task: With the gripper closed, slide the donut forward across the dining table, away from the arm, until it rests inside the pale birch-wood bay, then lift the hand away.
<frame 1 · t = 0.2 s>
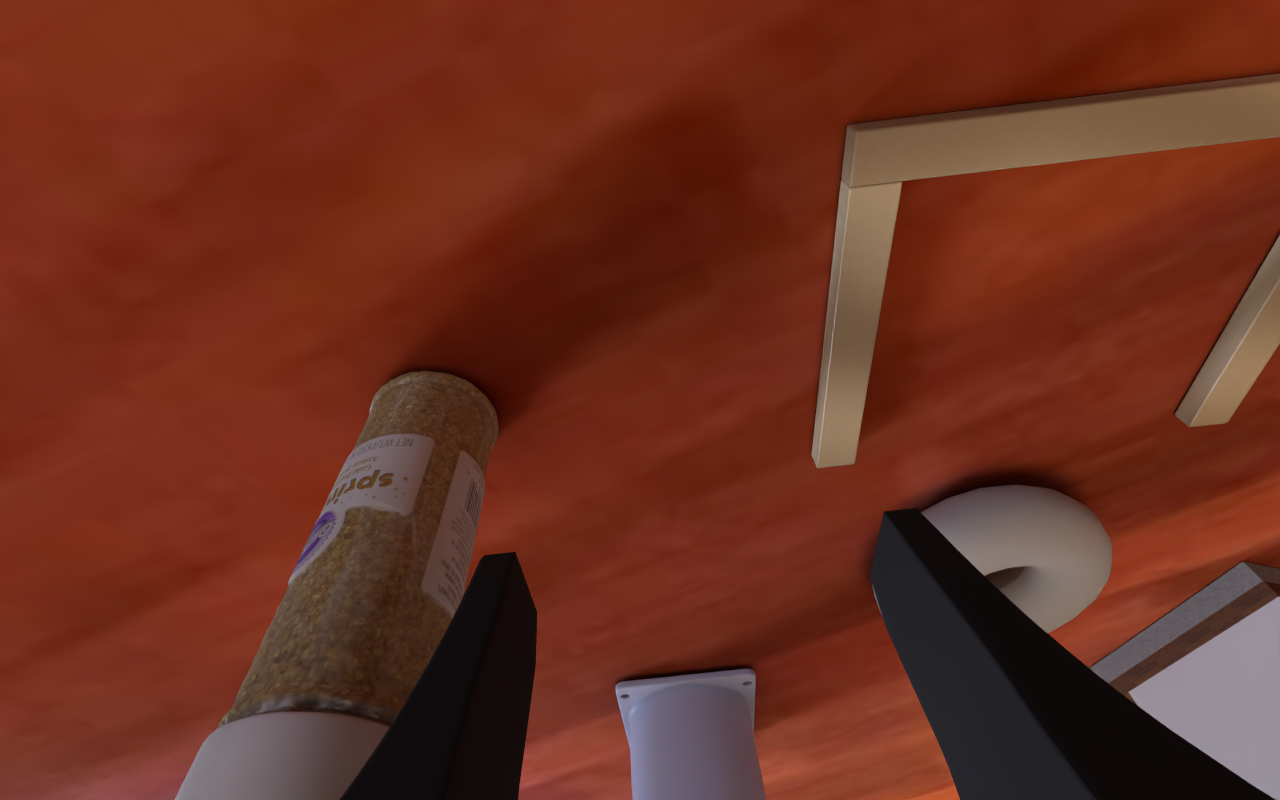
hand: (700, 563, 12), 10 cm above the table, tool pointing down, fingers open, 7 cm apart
grey pedestal stand: (1230, 628, 35), on the table
sprinkles bottle: (439, 413, 22), on the table
donut: (966, 540, 28), on the table
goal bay: (1059, 300, 20), on the table
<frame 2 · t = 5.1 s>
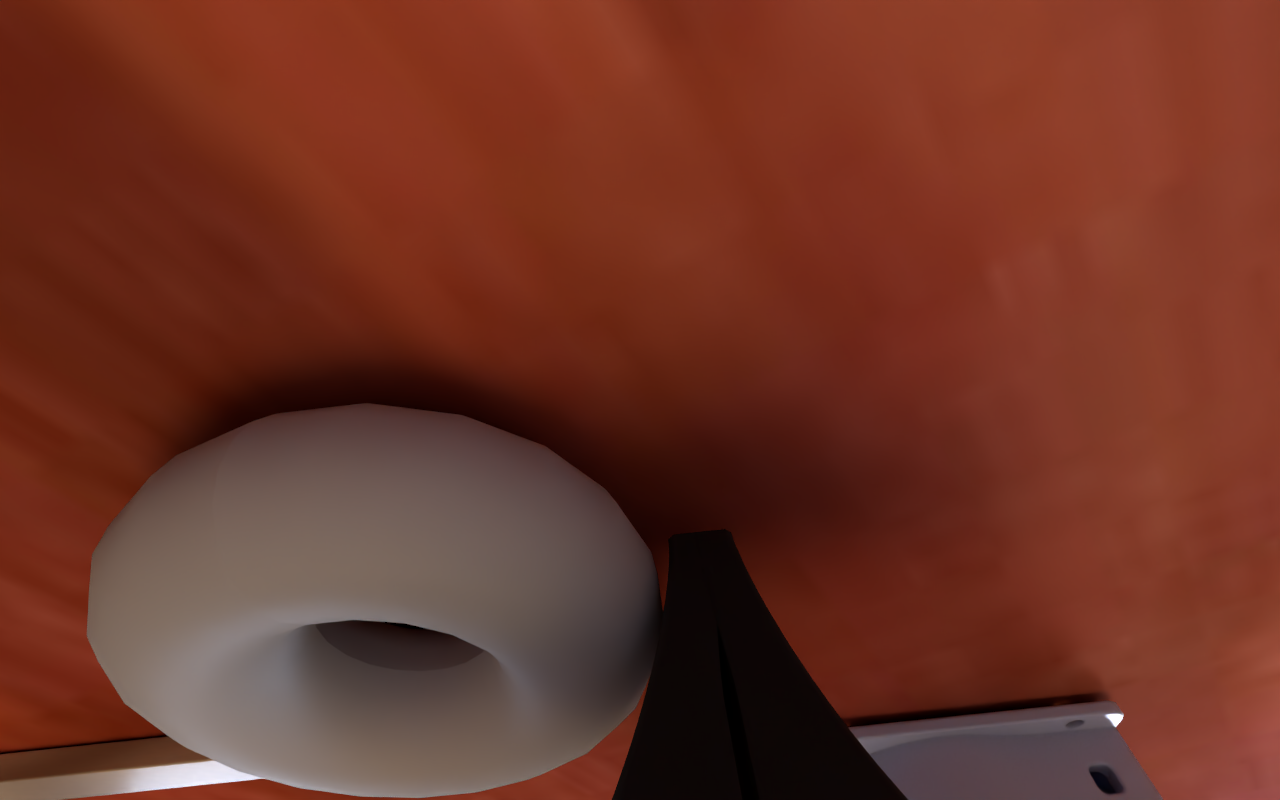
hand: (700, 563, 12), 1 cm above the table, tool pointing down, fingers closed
donut: (428, 548, 13), on the table, touching gripper
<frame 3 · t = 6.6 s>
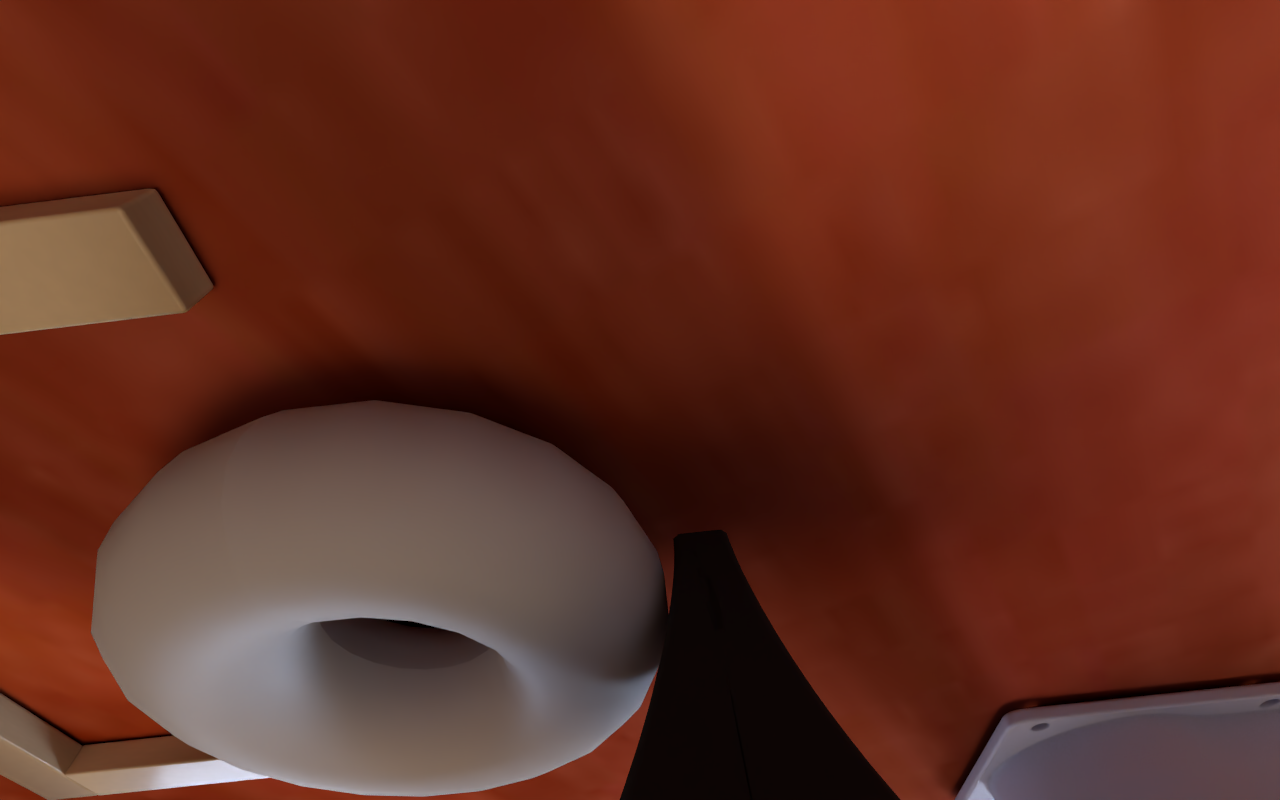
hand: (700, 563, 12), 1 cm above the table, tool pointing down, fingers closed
donut: (432, 546, 13), on the table, touching gripper
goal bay: (106, 590, 13), on the table
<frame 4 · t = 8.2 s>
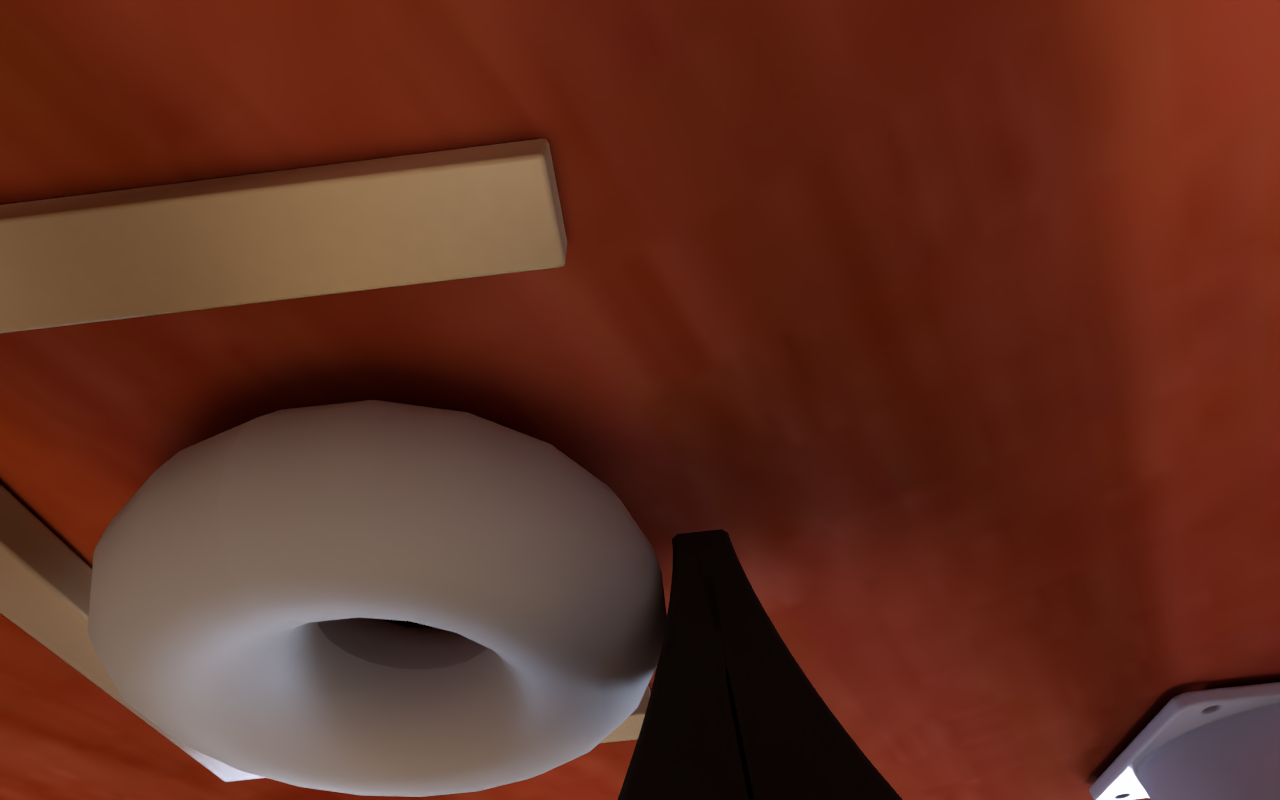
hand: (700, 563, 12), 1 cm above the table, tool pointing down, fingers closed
donut: (430, 546, 13), on the table, touching gripper
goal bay: (343, 563, 13), on the table
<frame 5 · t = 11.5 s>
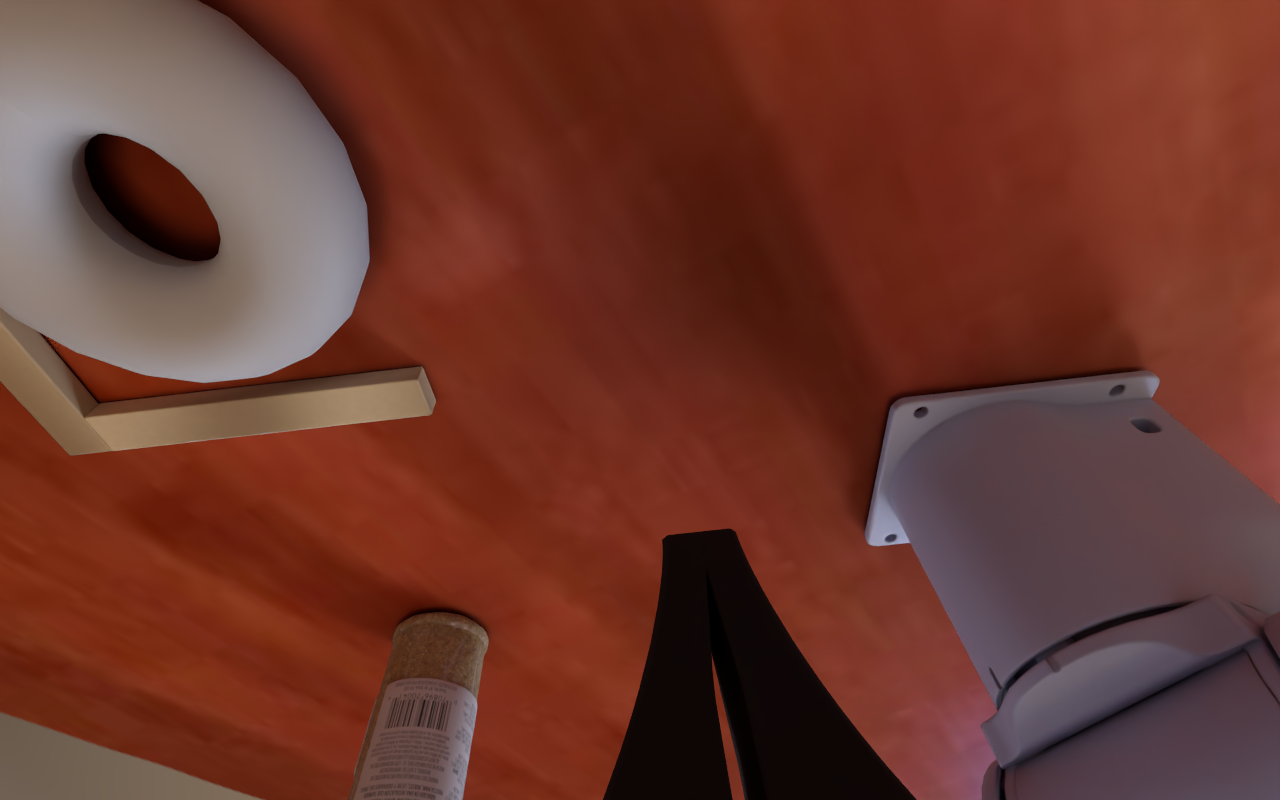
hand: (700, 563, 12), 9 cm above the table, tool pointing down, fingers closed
sprinkles bottle: (445, 630, 29), on the table
donut: (193, 179, 16), on the table
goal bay: (123, 191, 16), on the table
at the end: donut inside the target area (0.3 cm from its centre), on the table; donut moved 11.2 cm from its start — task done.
